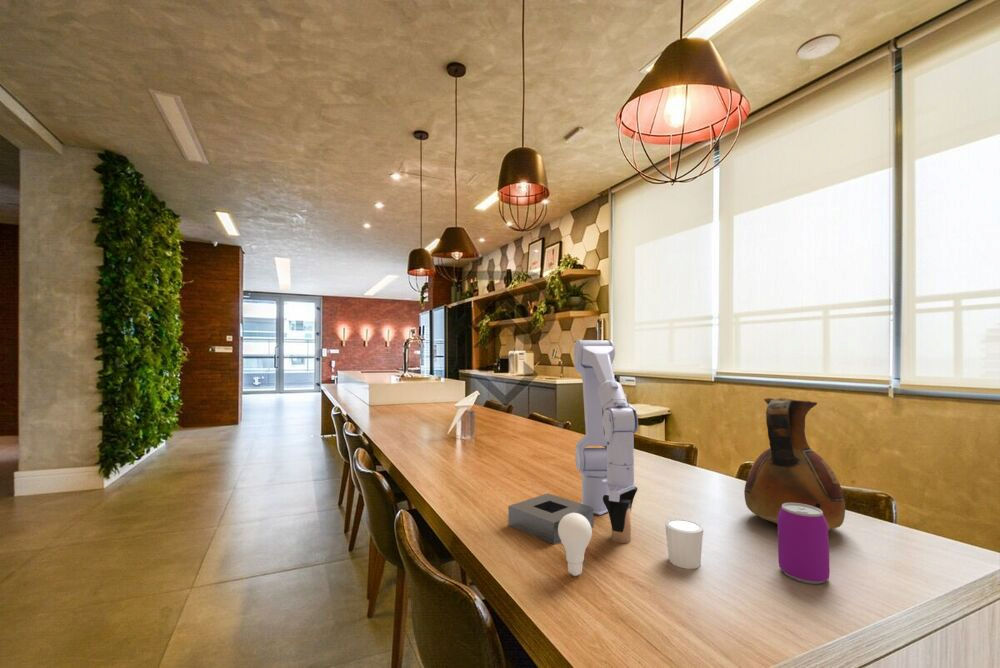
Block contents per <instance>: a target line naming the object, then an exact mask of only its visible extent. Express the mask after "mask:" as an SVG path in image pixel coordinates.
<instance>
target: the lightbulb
mask: <svg viewBox="0 0 1000 668" xmlns="http://www.w3.org/2000/svg"><path fill="white" fill-rule="evenodd" d="M558 534H559V537H560V539H561V543H562V545H563V549H564V550H565V558H566V561H567V571H568V573H569V574H570V575H572V576H574V577H577V576H579V575H581V574H582V573H583V563H584V561H585V560H584V559H585V552H586V550H587V547H588V545H589V543H590V542H591V539H592V535H593V529H592V528H591V525H590V523H589V521H588V520H587V519H586V518H585V517H584V516H583V515H581V514H579V513H569V514H567V515H565V516H564V517H563V518H562V519H561V520H560V522H559V525H558Z"/></svg>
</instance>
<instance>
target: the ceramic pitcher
mask: <svg viewBox="0 0 1000 668" xmlns="http://www.w3.org/2000/svg"><path fill="white" fill-rule="evenodd" d="M763 401H764V403H766V404H767V407H766V411H765V417H766V418H765V423H766V428H767V436H768V440H769V448H767V449H765V450H764V451H763V452H761V454H759V456H758V457H757V458H756V459H755V460H754V463H753V464H752V466H751V467H750V469H749V472H748V475H747V478H746V481H745V484H744V489H743V490H744V493H743V494H744V495H743V496H744V501H745V505H746V507H747V509H748V510H749V511H750V512H751V513H752V514H754V515H756V516H757V517H759V518H761V519H763V520H766V521H768V522H772V523H773V524H777V525H778V521H777V517H778V514H779V512H780V510H781V507H782V504H784V503H801V504H806V505H810V506H814V507H816V508H819V509H820V510H822V512H823V515H824V517H825V519H826V521H827V524H828V531H831V530H834V529H837V528H840V527H841V526H842V525H843V523H844V521H845V517H846V515H845V514H846V502H845V496H844V493H843V490H842V489H843V488H842V487H841V484H840V482H839V479H838V477H837V476H836V474H835V472H834V471H833V469H832V468H831V467H830V466H829V464H828V463H827V462H826V460H824V459H823V457H822V456H821V455H820V454H818V453H817V452H815V451H814V450H813V449H812V448H811V447H810V446H809V444H808V441H807V438H806V437H807V436H806V432H805V431H806V417H807V414H808V413H809V412H810V410H811V409H813V408H814V407H815V406H817V405H818V402H816V401H811V400H802V399H792V398H785V397H779V398H770V397H769V398H764V399H763Z"/></svg>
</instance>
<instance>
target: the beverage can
mask: <svg viewBox="0 0 1000 668" xmlns="http://www.w3.org/2000/svg"><path fill="white" fill-rule="evenodd" d="M777 521H778V524H777V548H778V549H777V550H778V553H777V554H778V555H777V557H778V566H779V568H780V570H781V571H782V572H783V573H784V574H785V575H786V576H787V577H789V578H791V579H793V580H795V581H798V582H801V583H804V584H810V585H819V584H823V583H825V582H826V581H829V579H830V574H831V571H830V568H831V567H830V546H829V545H830V543H829V542H830V540H829V539H830V538H829V530H828V524H827V521H826V519H825V517H824V515H823V512H822V510H820V509H819V508H816V507H814V506H810V505H806V504H801V503H784V504H782V507H781V510H780V512H779V514H778V517H777Z"/></svg>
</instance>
